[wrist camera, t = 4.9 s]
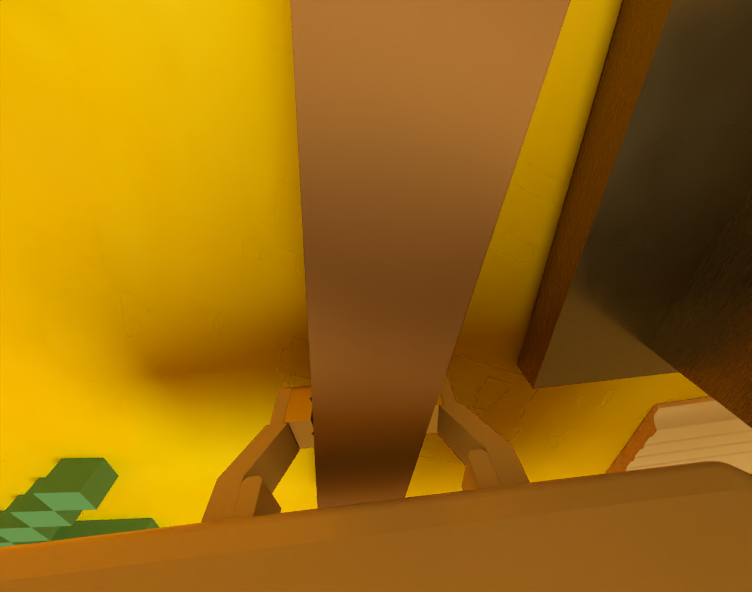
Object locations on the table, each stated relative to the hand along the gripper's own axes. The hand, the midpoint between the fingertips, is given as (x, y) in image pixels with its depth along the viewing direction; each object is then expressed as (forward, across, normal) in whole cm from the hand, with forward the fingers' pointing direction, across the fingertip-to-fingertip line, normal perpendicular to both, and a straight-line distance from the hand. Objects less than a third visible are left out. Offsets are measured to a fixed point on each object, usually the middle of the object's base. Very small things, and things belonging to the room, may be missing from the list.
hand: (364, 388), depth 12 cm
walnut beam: (+2, 0, 0) cm, 2 cm away
